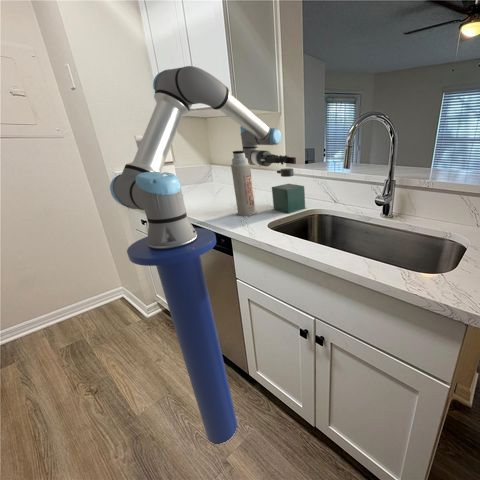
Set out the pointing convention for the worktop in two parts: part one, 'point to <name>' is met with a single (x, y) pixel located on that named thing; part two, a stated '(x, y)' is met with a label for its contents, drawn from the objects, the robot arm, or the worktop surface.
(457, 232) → the worktop surface
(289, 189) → the dark teal foam cube
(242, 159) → the thermos bottle
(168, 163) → the display case
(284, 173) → the nozzle
